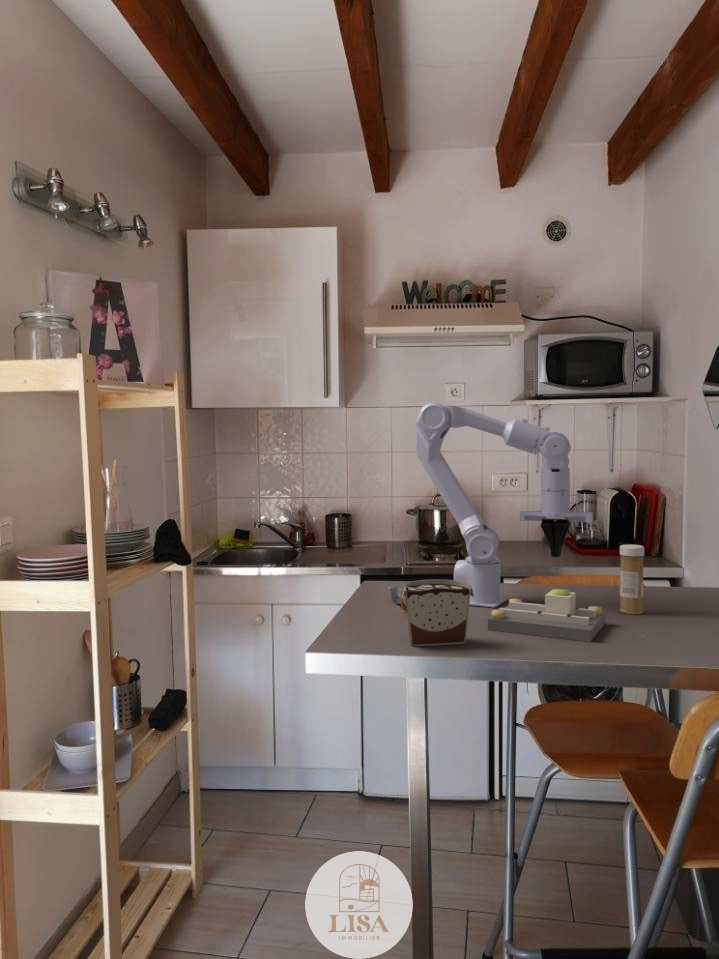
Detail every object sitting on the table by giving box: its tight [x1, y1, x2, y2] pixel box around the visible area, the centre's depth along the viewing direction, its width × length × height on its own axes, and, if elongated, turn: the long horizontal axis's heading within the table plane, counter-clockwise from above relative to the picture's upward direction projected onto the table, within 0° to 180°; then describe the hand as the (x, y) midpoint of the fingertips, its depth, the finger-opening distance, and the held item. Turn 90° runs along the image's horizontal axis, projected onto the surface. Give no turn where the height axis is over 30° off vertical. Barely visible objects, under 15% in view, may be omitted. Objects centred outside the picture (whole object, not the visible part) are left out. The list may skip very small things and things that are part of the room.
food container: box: [402, 579, 474, 647], centre depth 122 cm, size 12×6×10 cm, turn 100°
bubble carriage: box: [544, 588, 577, 616], centre depth 130 cm, size 4×5×5 cm
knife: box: [387, 585, 407, 612], centre depth 146 cm, size 25×1×5 cm, turn 10°
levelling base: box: [487, 598, 606, 643], centre depth 131 cm, size 18×14×3 cm
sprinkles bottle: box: [619, 543, 645, 616], centre depth 142 cm, size 5×5×13 cm
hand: (556, 556), depth 148 cm, fingers closed
